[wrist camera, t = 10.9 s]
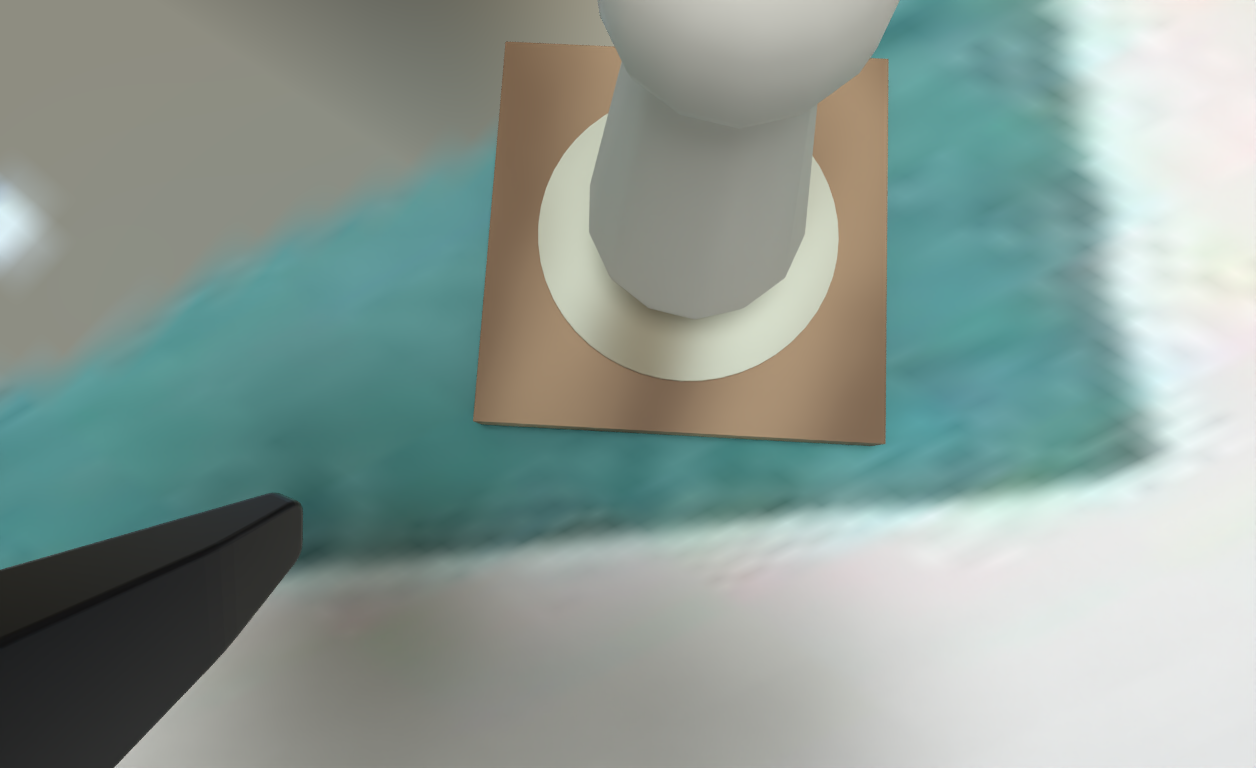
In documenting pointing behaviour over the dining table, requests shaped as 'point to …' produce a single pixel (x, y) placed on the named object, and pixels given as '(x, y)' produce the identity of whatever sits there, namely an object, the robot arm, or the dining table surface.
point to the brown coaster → (662, 342)
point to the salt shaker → (717, 141)
